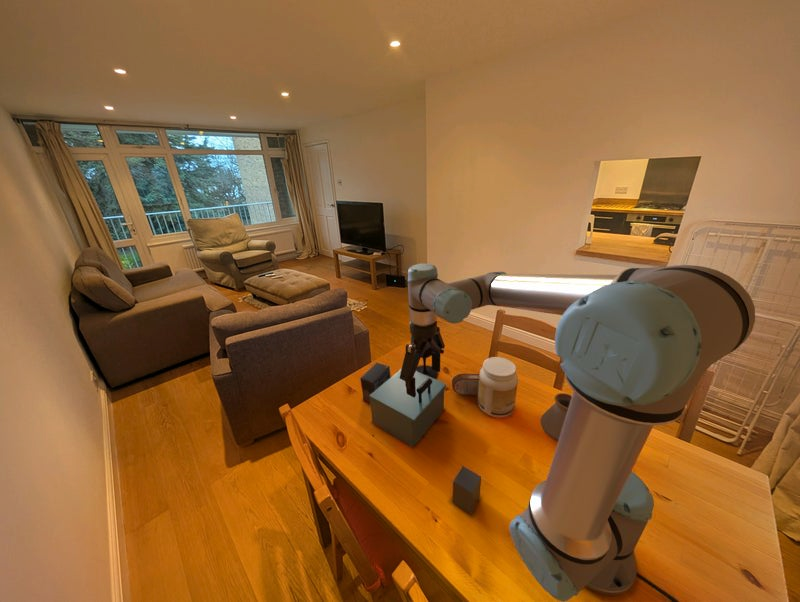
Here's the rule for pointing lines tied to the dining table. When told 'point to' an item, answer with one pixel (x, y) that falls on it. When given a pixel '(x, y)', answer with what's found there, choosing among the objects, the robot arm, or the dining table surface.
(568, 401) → the coffee pot
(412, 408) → the lid
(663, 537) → the dining table surface
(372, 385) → the small box
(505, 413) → the supplement tub
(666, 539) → the dining table surface
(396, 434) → the teal open box
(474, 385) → the tin
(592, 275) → the robot arm
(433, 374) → the wine glass
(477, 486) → the block
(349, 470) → the dining table surface
